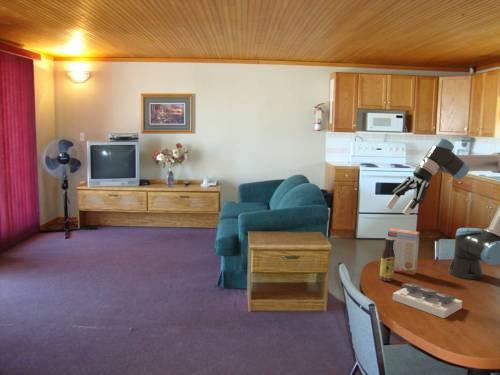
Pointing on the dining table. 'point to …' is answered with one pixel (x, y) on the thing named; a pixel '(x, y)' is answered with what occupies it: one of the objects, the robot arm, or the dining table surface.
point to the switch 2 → (444, 297)
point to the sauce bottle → (387, 261)
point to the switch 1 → (411, 286)
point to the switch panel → (427, 302)
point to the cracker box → (405, 250)
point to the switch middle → (427, 291)
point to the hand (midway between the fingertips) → (396, 211)
